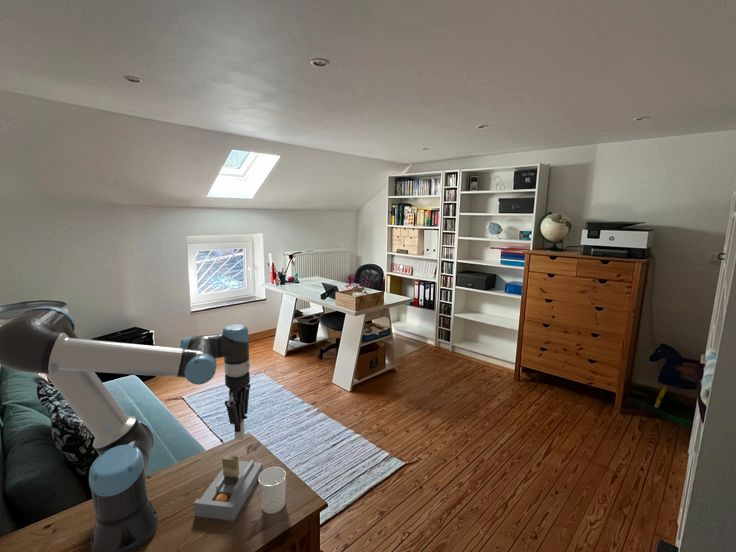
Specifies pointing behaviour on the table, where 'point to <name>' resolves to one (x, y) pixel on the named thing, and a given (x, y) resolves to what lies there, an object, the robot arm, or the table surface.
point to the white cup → (272, 489)
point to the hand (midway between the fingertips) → (239, 438)
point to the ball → (222, 498)
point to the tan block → (230, 469)
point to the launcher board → (228, 493)
